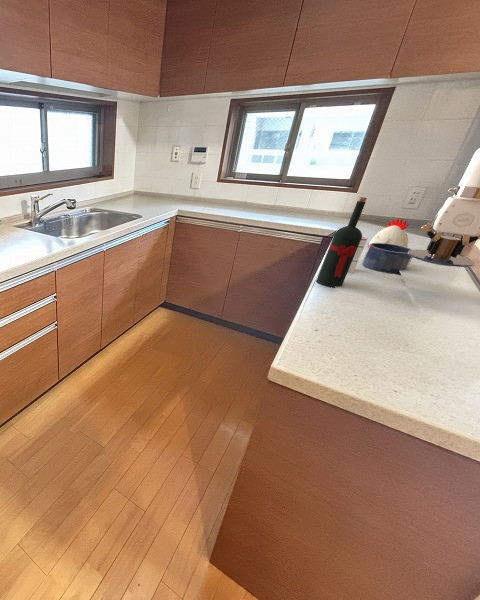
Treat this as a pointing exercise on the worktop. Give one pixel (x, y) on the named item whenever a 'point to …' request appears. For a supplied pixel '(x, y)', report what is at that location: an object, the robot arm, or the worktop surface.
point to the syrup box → (358, 254)
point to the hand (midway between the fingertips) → (441, 254)
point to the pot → (387, 258)
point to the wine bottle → (342, 250)
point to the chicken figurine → (392, 234)
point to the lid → (443, 254)
